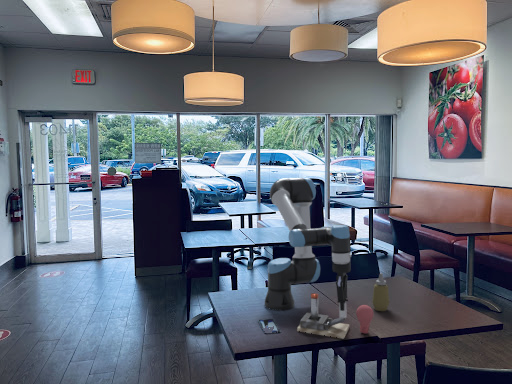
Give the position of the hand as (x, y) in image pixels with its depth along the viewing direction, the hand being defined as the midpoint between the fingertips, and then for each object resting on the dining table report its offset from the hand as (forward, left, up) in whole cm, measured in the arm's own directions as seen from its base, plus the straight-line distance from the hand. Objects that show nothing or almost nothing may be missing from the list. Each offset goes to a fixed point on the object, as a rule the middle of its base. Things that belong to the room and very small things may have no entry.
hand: (343, 317), depth 175 cm
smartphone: (-32, -6, -7) cm, 33 cm away
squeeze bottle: (+12, +34, -7) cm, 37 cm away
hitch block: (-8, 0, -7) cm, 11 cm away
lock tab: (-3, 0, -3) cm, 4 cm away
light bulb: (+9, +3, -7) cm, 12 cm away
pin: (-13, 0, -5) cm, 14 cm away
